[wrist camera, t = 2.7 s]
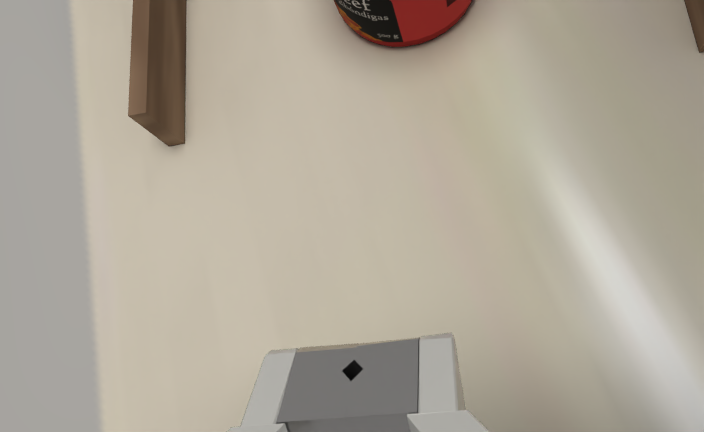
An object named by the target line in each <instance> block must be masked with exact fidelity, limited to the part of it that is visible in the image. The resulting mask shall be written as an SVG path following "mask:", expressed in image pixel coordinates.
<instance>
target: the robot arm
mask: <svg viewBox="0 0 704 432" xmlns="http://www.w3.org/2000/svg"><path fill="white" fill-rule="evenodd" d="M226 432H489V431H488V429H487V428H486V427H485V426H484V425H483V424H482V423H481V422H480V421H479V420H478V419H477V418H476V417H475V416H474V415H473V414H472V413H471V412H470V411H469V410H466V408H465V401H464V394H463V388H462V382H461V375H460V369H459V363H458V357H457V351H456V345H455V339H454V335H453V334H452V333H444V334H436V335H428V336H421V337H419V338H410V339H400V340H390V341H380V342H370V343H361V344H359V343H357V344H344V345H330V346H317V347H303V348H299V349H297V348H295V349H283V350H271V351H270V352H269V353H267V354H266V356H265V357H264V360H263V363H262V366H261V368H260V371H259V374H258V377H257V380H256V383H255V386H254V388H253V391H252V394H251V397H250V400H249V403H248V405H247V408H246V411H245V414H244V417H243V420H242V423H241V425H240V427H231V428H230V429H229V430H228V431H226Z"/></svg>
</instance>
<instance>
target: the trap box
mask: <svg viewBox="0 0 704 432" xmlns="http://www.w3.org/2000/svg"><path fill="white" fill-rule="evenodd" d="M685 4H686V7H687V11H688V14H689V18H690V21H691V25H692V28H693V32H694V35H695V39H696V42H697V46H698V49H699V52H704V0H685ZM185 60H186V0H133V15H132V38H131V62H130V85H129V109H128V116H129V117H130V118H132V119H133V120H134V121H136V122H137V123H138V124H140V125H141V126H142V127H144V128H145V129H146V130H148V131H149V132H150V133H152V134H153V135H154V136H156V137H157V138H158V139H160V140H161V141H162V142H164V143H165V144H166V145H168V146H172V145H178V144H183V143H185Z"/></svg>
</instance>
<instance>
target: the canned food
mask: <svg viewBox="0 0 704 432" xmlns="http://www.w3.org/2000/svg"><path fill="white" fill-rule="evenodd" d="M471 1H472V0H334V2H335V4H336V6H337V9H338V11H339V13H340V15H341V16H342V18H343V19H344V21H345V22H346V23H347V24H348V25H349V26H350V27H351V28H352V29H353V30H354V31H355V32H357V33H358V34H359V35H360V36H362V37H364V38H365V39H367V40H369V41H371V42H374V43H377V44H380V45H385V46H391V47H402V46H411V45H416V44H421V43H423V42H426V41H429V40H432V39H434V38H436V37H437V36H439V35H441V34H443V33H445V32H446V31H447V30H448V29H450V28H451V27H452V26H453V25H455V24H456V23H457V22H458V20H459V19H460V18H461V17H462V16H463V15H464V13H465V12H466V10H467V8H468V7H469V5H470V3H471Z"/></svg>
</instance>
